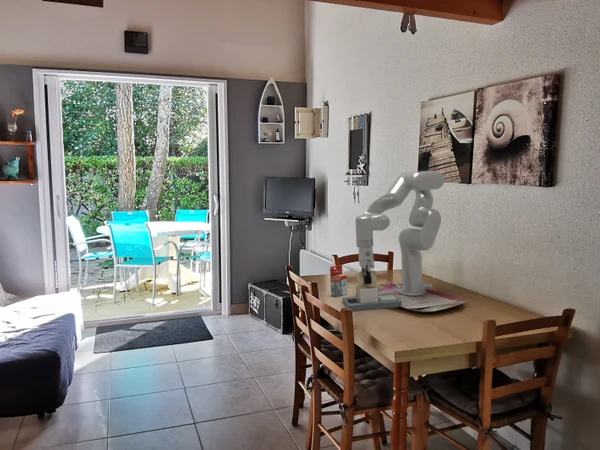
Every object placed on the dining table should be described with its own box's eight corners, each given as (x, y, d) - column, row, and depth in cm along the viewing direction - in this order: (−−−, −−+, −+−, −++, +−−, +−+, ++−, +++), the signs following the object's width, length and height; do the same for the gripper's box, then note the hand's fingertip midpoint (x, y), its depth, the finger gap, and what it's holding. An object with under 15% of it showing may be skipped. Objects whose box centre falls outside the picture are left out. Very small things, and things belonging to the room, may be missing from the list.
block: (374, 295, 221) (373, 270, 219) (376, 298, 217) (375, 272, 215) (357, 297, 220) (356, 271, 218) (359, 299, 216) (358, 273, 214)
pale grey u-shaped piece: (372, 296, 223) (372, 283, 222) (378, 301, 214) (377, 288, 213) (356, 297, 222) (355, 285, 222) (360, 303, 213) (360, 290, 212)
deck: (392, 298, 227) (392, 292, 227) (401, 306, 213) (401, 300, 213) (342, 302, 224) (342, 296, 224) (349, 311, 211) (348, 305, 210)
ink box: (348, 294, 238) (346, 265, 236) (335, 297, 234) (333, 268, 232) (343, 292, 241) (342, 264, 239) (330, 295, 237) (329, 267, 235)
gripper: (378, 245, 207) (379, 286, 209) (368, 239, 223) (369, 277, 226) (361, 247, 206) (362, 288, 209) (352, 240, 223) (354, 279, 225)
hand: (366, 282), depth 217 cm, fingers closed on block, 4 cm apart
